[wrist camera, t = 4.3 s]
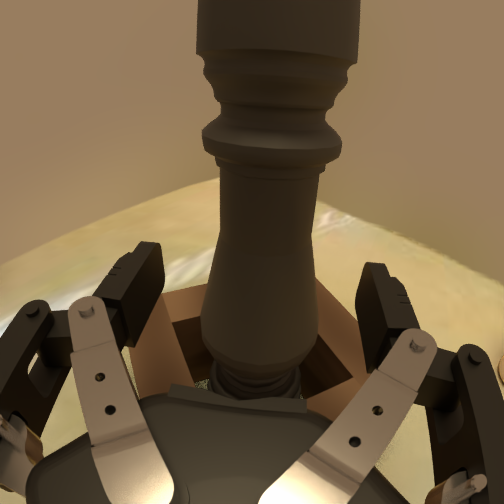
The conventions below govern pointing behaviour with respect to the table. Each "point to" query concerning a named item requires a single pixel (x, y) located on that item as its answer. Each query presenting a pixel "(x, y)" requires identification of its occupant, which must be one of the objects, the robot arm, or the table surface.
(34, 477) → the robot arm
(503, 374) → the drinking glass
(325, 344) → the bore block
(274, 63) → the candle holder
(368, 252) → the table surface
